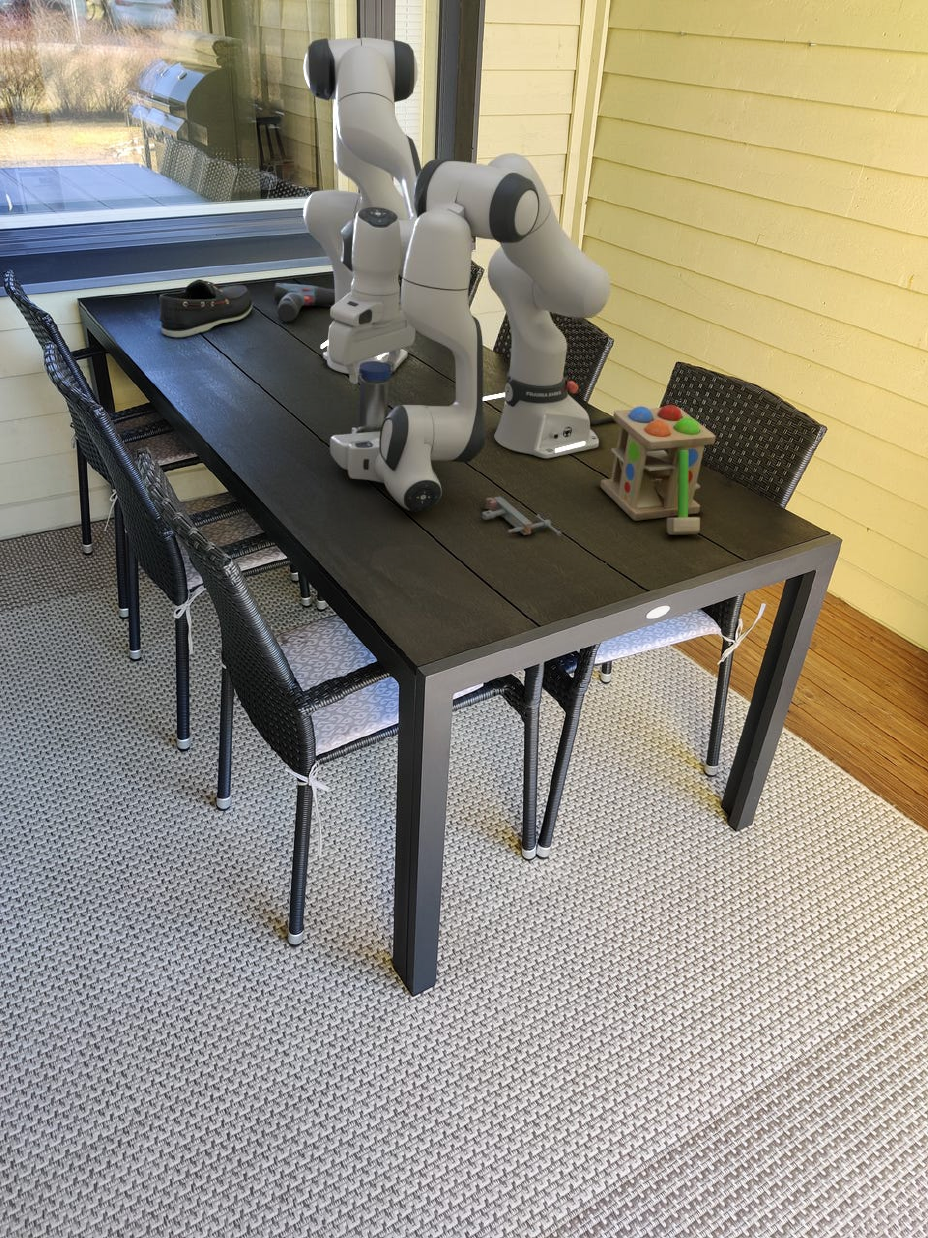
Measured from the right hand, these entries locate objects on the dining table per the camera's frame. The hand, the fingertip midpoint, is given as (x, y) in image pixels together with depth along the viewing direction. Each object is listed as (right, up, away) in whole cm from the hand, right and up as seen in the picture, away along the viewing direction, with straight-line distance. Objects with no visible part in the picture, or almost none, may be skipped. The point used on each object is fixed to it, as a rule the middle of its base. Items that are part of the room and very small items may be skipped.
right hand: (371, 429), depth 195 cm
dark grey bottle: (0, -5, +2) cm, 5 cm away
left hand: (+1, +9, -7) cm, 11 cm away
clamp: (+28, -21, -17) cm, 39 cm away
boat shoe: (-48, +40, +61) cm, 87 cm away
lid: (+1, +10, -8) cm, 13 cm away
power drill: (-25, +46, +73) cm, 89 cm away
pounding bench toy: (+56, -17, -8) cm, 59 cm away
